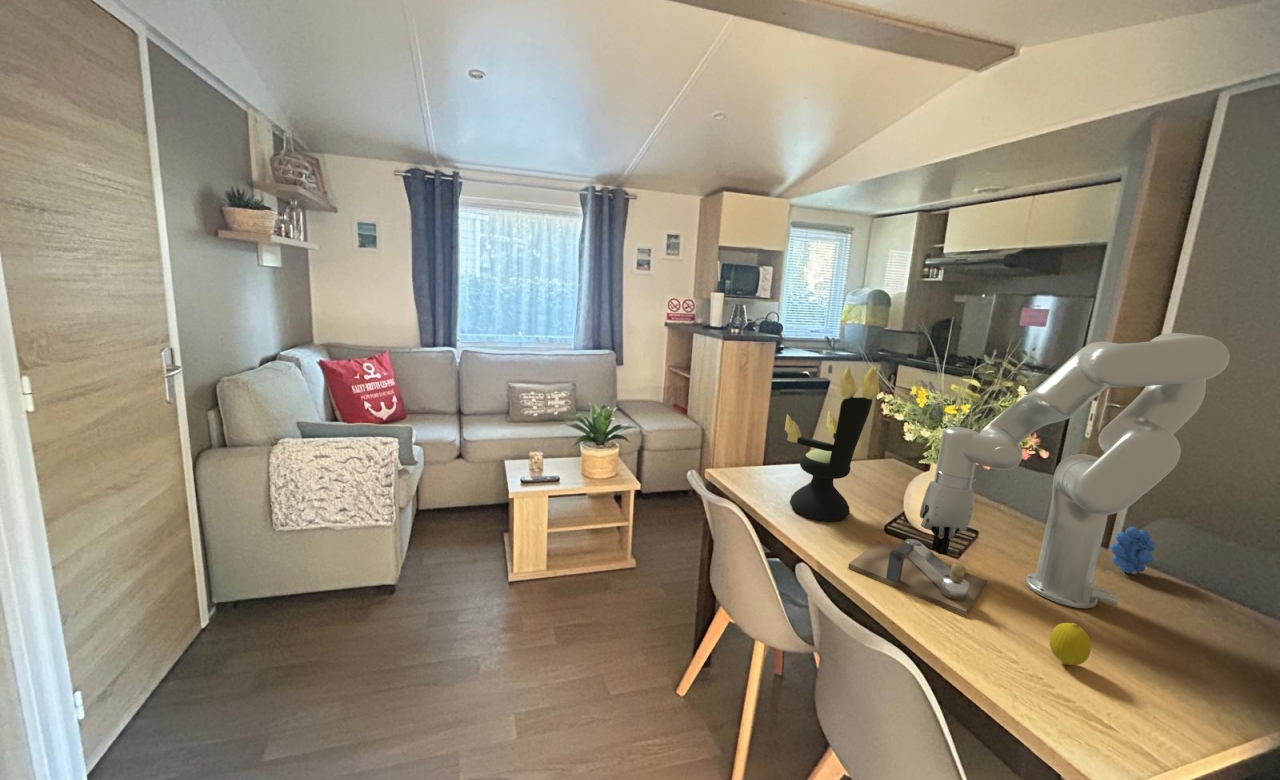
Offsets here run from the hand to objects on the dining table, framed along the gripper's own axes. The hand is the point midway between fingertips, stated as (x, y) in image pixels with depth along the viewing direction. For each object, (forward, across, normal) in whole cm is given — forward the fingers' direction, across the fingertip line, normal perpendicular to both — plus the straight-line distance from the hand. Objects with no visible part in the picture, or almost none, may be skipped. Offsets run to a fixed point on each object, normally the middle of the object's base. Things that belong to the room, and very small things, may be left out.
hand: (939, 551), depth 125 cm
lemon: (+3, -2, +35) cm, 35 cm away
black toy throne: (+3, +17, -27) cm, 32 cm away
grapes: (+3, -47, +2) cm, 47 cm away
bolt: (+1, +6, +8) cm, 10 cm away
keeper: (+2, +14, +8) cm, 17 cm away
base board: (+3, +9, +7) cm, 12 cm away
